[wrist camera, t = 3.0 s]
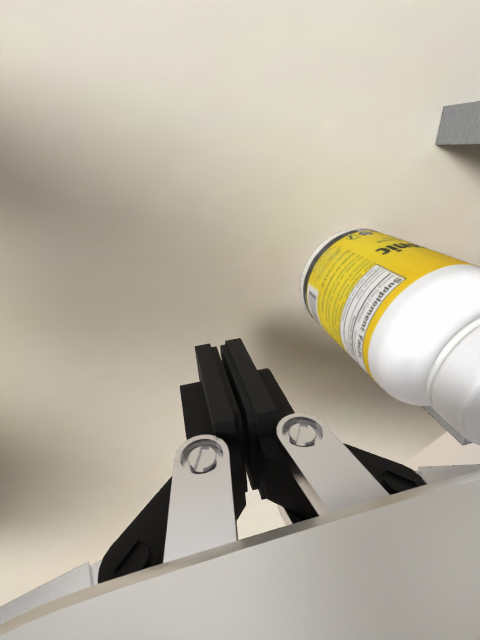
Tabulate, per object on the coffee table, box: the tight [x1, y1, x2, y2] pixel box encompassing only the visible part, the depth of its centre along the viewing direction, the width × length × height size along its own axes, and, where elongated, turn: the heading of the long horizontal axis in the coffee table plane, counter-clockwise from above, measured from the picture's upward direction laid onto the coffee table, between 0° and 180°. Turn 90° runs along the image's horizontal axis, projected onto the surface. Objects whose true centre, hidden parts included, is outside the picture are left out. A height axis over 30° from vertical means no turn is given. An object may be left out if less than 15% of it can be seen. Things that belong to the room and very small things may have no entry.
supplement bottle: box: [300, 228, 480, 445], centre depth 13 cm, size 5×5×10 cm
